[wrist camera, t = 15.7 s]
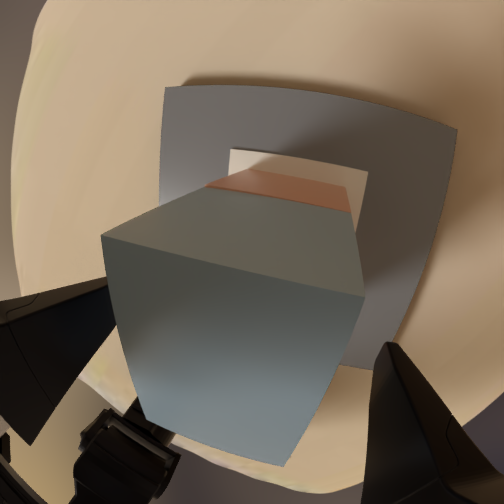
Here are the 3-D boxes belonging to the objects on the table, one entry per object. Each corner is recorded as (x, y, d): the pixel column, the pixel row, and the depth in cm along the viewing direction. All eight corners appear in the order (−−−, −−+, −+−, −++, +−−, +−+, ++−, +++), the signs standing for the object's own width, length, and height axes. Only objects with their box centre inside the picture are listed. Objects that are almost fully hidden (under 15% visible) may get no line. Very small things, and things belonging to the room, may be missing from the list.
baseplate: (375, 361, 17) (376, 372, 16) (171, 310, 21) (163, 318, 20) (450, 129, 11) (458, 129, 10) (174, 89, 14) (163, 87, 13)
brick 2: (307, 367, 11) (283, 466, 7) (201, 338, 12) (146, 419, 8) (351, 213, 8) (365, 296, 4) (204, 186, 9) (100, 235, 5)
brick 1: (316, 305, 16) (305, 367, 11) (235, 285, 17) (199, 337, 12) (345, 187, 13) (351, 212, 8) (247, 168, 14) (204, 184, 9)
